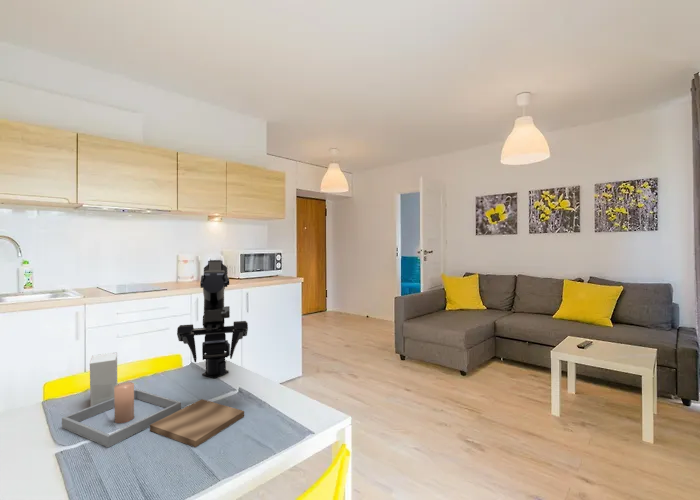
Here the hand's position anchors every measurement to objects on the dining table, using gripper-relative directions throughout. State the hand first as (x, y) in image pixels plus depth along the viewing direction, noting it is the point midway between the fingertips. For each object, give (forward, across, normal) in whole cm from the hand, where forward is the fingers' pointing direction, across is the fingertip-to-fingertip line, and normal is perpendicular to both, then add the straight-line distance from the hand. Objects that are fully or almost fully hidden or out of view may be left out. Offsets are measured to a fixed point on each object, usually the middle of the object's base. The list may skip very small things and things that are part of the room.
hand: (213, 360), depth 98 cm
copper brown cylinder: (+10, -22, +11) cm, 27 cm away
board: (+15, -3, +4) cm, 16 cm away
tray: (+10, -22, +11) cm, 27 cm away
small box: (+2, -30, +23) cm, 38 cm away
